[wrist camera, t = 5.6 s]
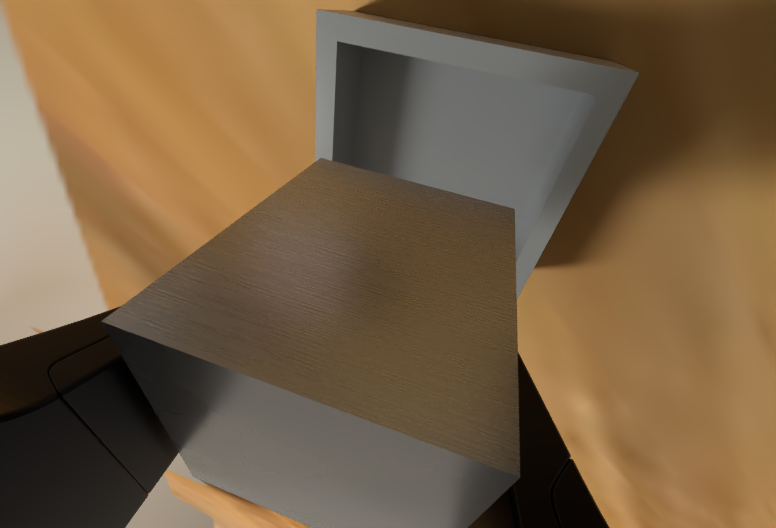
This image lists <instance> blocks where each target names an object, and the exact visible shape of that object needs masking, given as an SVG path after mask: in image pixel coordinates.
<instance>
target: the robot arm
mask: <svg viewBox="0 0 776 528" xmlns="http://www.w3.org/2000/svg"><path fill="white" fill-rule="evenodd" d="M120 307H121V306H120ZM120 307H117V308H114V309H112V310H109V311H106V312H103V313H101V314H98V315H95V316H92V317H89V318H86V319H84V320H81V321H77V322H74V323H71V324H68V325H65V326H62V327H59V328H56V329H52V330H49V331H46V332H43V333H39V334H36V335H33V336H30V337H27V338H23V339H20V340H17V341H13V342H10V343H7V344H4V345H0V528H125V527H126V526H127V524H128V523H129V522H130V520H131V519H132V517H133V516H134V514H135V513H136V512H137V510H138V509H139V508H140V506H141V505H142V503H143V502H144V501H145V499H146V498H147V496H148V493H150V492H151V490H152V489H153V488H154V486H155V485H156V483H157V482H158V481H159V479H160V478H161V477H162V475H163V474H164V472H165V471H166V470H167V468H168V467H169V465H170V464H171V463H172V461H173V460H174V458H175V457H176V456H177V454H178V453H179V452H178V450H177V448H176V446H175V445H174V443H173V441H172V440H171V438H170V436H169V435H168V433H167V431H166V430H165V428H164V426H163V425H162V423H161V421H160V420H159V418H158V416H157V414H156V413H155V411H154V409H153V408H152V406H151V404H150V403H149V401H148V399H147V398H146V396H145V394H144V393H143V391H142V389H141V388H140V386H139V384H138V382H137V381H136V379H135V377H134V376H133V374H132V372H131V371H130V369H129V367H128V366H127V364H126V362H125V361H124V359H123V357H122V356H121V354H120V352H119V350H118V349H117V347H116V345H115V344H114V342H113V340H112V339H111V337H110V335H109V334H108V332H107V330H106V329H105V327H104V325H103V324H102V322H101V321H102V320H104V319H105V318H106V317H108V316H109V315H110V314H112V313H113V312H114V311H116V310H117V309H118V308H120ZM518 394H519V444H520V478H519V479H518V480H517V481H516V482H515V483H514V484H513V485H512V486H511V487H510V488H509V489H508V490H507V491H506V492H504V493H503V494H502V495H501V496H500V497H499V498H498V499H497V500H496V501H495V502H494V503H493V504H492V505H491V506H490V507H489V508H488V509H487V510H486V511H485V512H484V513H482V514H481V515H480V516H479V517H478V518H477V519H476V520H475V521H474V522H473V523H472V524H471V525H470V526H469V527H468V528H609V526H608V524H607V522H606V521H605V519H604V517H603V516H602V514H601V512H600V510H599V508H598V506H597V505H596V503H595V501H594V499H593V497H592V495H591V493H590V492H589V490H588V488H587V486H586V484H585V482H584V480H583V478H582V476H581V474H580V472H579V470H578V468H577V467H576V465H575V463H574V461H573V460H572V459H570V457H571V455H570V453H569V451H568V449H567V447H566V445H565V443H564V441H563V439H562V437H561V435H560V433H559V431H558V429H557V428H556V426H555V424H554V422H553V420H552V418H551V416H550V414H549V412H548V410H547V408H546V406H545V404H544V402H543V400H542V398H541V396H540V394H539V392H538V390H537V388H536V386H535V384H534V382H533V380H532V378H531V376H530V374H529V372H528V370H527V368H526V366H525V365H524V363H523V361H522V359H521V357H520V355H519V353H518Z"/></svg>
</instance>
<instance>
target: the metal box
mask: <svg viewBox="0 0 776 528" xmlns="http://www.w3.org/2000/svg"><path fill="white" fill-rule="evenodd" d="M101 322H102V324H103V325H104V327H105V329H106V330H107V332H108V334H109V335H110V337H111V339H112V340H113V342H114V344H115V345H116V347H117V349H118V350H119V352H120V354H121V356H122V357H123V359H124V361H125V362H126V364H127V366H128V367H129V369H130V371H131V372H132V374H133V376H134V377H135V379H136V381H137V382H138V384H139V386H140V388H141V389H142V391H143V393H144V394H145V396H146V398H147V399H148V401H149V403H150V404H151V406H152V408H153V409H154V411H155V413H156V414H157V416H158V418H159V420H160V421H161V423H162V425H163V426H164V428H165V430H166V431H167V433H168V435H169V436H170V438H171V440H172V441H173V443H174V445H175V446H176V448H177V450H178V452H179V453H180V455H181V457H182V458H183V460H184V462H185V463H186V465H187V467H188V468H189V470H190V472H191V473H192V475H193V476H194V477H195V478H197V479H200V480H202V481H204V482H207V483H209V484H211V485H214V486H216V487H218V488H221V489H223V490H225V491H228V492H230V493H232V494H235V495H237V496H239V497H242V498H244V499H246V500H249V501H251V502H253V503H256V504H258V505H260V506H263V507H265V508H267V509H270V510H272V511H274V512H276V513H279V514H281V515H283V516H286V517H288V518H290V519H293V520H295V521H297V522H300V523H302V524H304V525H307V526H309V527H311V528H468V527H469V526H470V525H471V524H472V523H473V522H474V521H475V520H476V519H477V518H478V517H479V516H480V515H481V514H482V513H484V512H485V511H486V510H487V509H488V508H489V507H490V506H491V505H492V504H493V503H494V502H495V501H496V500H497V499H498V498H499V497H500V496H501V495H502V494H503V493H504V492H506V491H507V490H508V489H509V488H510V487H511V486H512V485H513V484H514V483H515V482H516V481H517V480H518V479H519V478H520V444H519V394H518V344H517V294H516V245H515V209H514V208H510V207H506V206H502V205H498V204H495V203H491V202H487V201H483V200H479V199H476V198H472V197H468V196H464V195H460V194H457V193H453V192H449V191H445V190H441V189H438V188H434V187H430V186H426V185H422V184H419V183H415V182H411V181H407V180H404V179H400V178H396V177H392V176H388V175H385V174H381V173H377V172H373V171H369V170H366V169H362V168H358V167H354V166H350V165H347V164H343V163H339V162H335V161H331V160H328V159H324V158H320V159H319V160H317V161H316V162H315V163H313V164H312V165H311V166H309V167H308V168H307V169H305V170H304V171H303V172H301V173H300V174H298V175H297V176H296V177H294V178H293V179H292V180H290V181H289V182H288V183H286V184H285V185H284V186H282V187H281V188H280V189H278V190H277V191H276V192H274V193H273V194H272V195H270V196H269V197H268V198H266V199H265V200H264V201H262V202H261V203H260V204H258V205H257V206H256V207H254V208H253V209H251V210H250V211H249V212H247V213H246V214H245V215H243V216H242V217H241V218H239V219H238V220H237V221H235V222H234V223H233V224H231V225H230V226H229V227H227V228H226V229H225V230H223V231H222V232H221V233H219V234H218V235H217V236H215V237H214V238H213V239H211V240H210V241H208V242H207V243H206V244H204V245H203V246H202V247H200V248H199V249H198V250H196V251H195V252H194V253H192V254H191V255H190V256H188V257H187V258H186V259H184V260H183V261H182V262H180V263H179V264H178V265H176V266H175V267H174V268H172V269H171V270H170V271H168V272H167V273H166V274H164V275H163V276H161V277H160V278H159V279H157V280H156V281H155V282H153V283H152V284H151V285H149V286H148V287H147V288H145V289H144V290H143V291H141V292H140V293H139V294H137V295H136V296H135V297H133V298H132V299H131V300H129V301H128V302H127V303H125V304H124V305H123V306H121V307H120V308H118V309H117V310H116V311H114V312H113V313H112V314H110V315H109V316H108V317H106V318H105V319H104V320H102V321H101Z"/></svg>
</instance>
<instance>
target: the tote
mask: <svg viewBox="0 0 776 528" xmlns="http://www.w3.org/2000/svg"><path fill="white" fill-rule="evenodd" d="M638 75H639V72H637V71H635V70H632V69H630V68H627V67H625V66H623V65H620V64H618V63H616V62H613V61H609V60H604V59H599V58H594V57H589V56H584V55H578V54H573V53H568V52H563V51H558V50H553V49H547V48H542V47H537V46H532V45H527V44H522V43H516V42H511V41H506V40H501V39H496V38H491V37H486V36H480V35H475V34H470V33H465V32H460V31H455V30H449V29H444V28H439V27H434V26H429V25H424V24H418V23H413V22H408V21H403V20H398V19H393V18H387V17H382V16H377V15H372V14H367V13H362V12H356V11H345V10H322V9H317V24H316V158H315V162H316V161H317V160H319V159H320V158H324V159H328V160H331V161H335V162H339V163H343V164H347V165H350V166H354V167H358V168H362V169H366V170H369V171H373V172H377V173H381V174H385V175H388V176H392V177H396V178H400V179H404V180H407V181H411V182H415V183H419V184H422V185H426V186H430V187H434V188H438V189H441V190H445V191H449V192H453V193H457V194H460V195H464V196H468V197H472V198H476V199H479V200H483V201H487V202H491V203H495V204H498V205H502V206H506V207H510V208H514V209H515V245H516V294H517V298H518V297H519V295H520V293H521V291H522V289H523V287H524V285H525V284H526V282H527V280H528V278H529V276H530V274H531V273H532V271H533V269H534V267H535V265H536V263H537V261H538V260H539V258H540V256H541V254H542V252H543V250H544V249H545V247H546V245H547V243H548V241H549V239H550V237H551V236H552V234H553V232H554V230H555V228H556V226H557V225H558V223H559V221H560V219H561V217H562V215H563V213H564V212H565V210H566V208H567V206H568V204H569V202H570V201H571V199H572V197H573V195H574V193H575V191H576V189H577V188H578V186H579V184H580V182H581V180H582V178H583V176H584V175H585V173H586V171H587V169H588V167H589V165H590V164H591V162H592V160H593V158H594V156H595V154H596V152H597V151H598V149H599V147H600V145H601V143H602V141H603V140H604V138H605V136H606V134H607V132H608V130H609V128H610V127H611V125H612V123H613V121H614V119H615V117H616V116H617V114H618V112H619V110H620V108H621V106H622V104H623V103H624V101H625V99H626V97H627V95H628V93H629V92H630V90H631V88H632V86H633V84H634V82H635V80H636V79H637V77H638Z"/></svg>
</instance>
